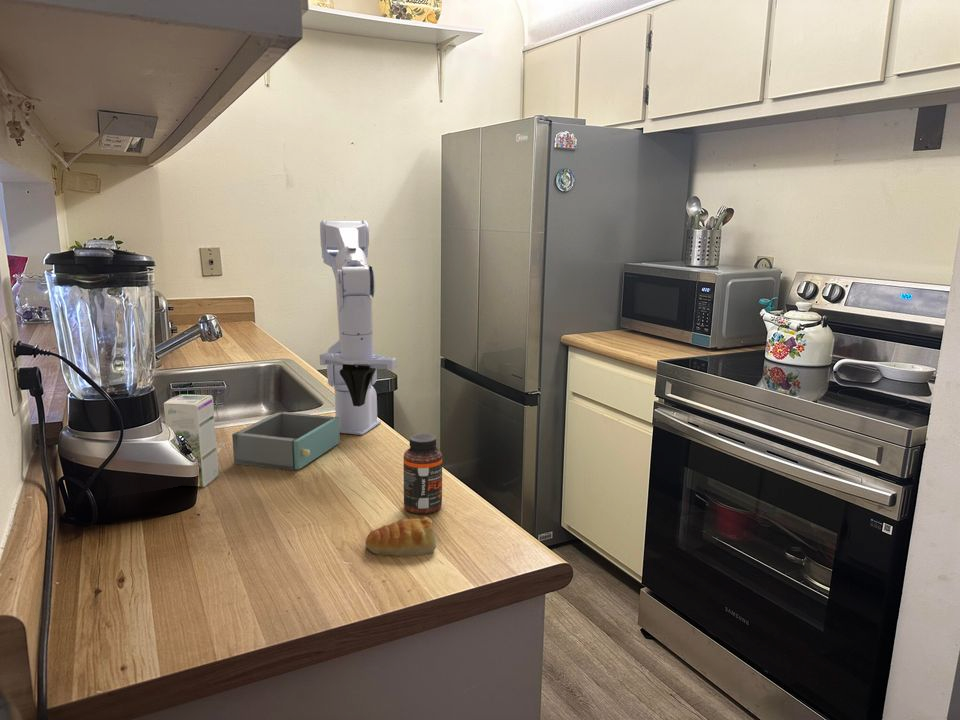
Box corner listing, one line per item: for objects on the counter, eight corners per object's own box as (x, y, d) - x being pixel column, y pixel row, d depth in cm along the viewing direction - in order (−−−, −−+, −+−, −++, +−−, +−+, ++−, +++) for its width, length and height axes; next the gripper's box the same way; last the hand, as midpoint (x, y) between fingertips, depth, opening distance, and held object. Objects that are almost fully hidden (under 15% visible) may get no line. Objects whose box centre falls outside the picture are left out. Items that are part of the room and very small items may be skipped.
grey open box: (280, 437, 136) (279, 411, 135) (334, 443, 133) (333, 416, 131) (234, 463, 122) (232, 434, 121) (293, 471, 119) (291, 441, 117)
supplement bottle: (433, 518, 101) (433, 446, 98) (397, 512, 103) (395, 441, 100) (448, 502, 106) (448, 433, 104) (413, 497, 108) (412, 429, 106)
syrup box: (220, 475, 116) (214, 393, 113) (203, 489, 111) (196, 403, 107) (188, 473, 117) (181, 392, 114) (169, 487, 111) (162, 402, 108)
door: (336, 441, 133) (336, 416, 132) (345, 442, 132) (344, 417, 131) (294, 469, 118) (293, 440, 117) (304, 470, 118) (303, 441, 117)
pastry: (368, 563, 88) (367, 536, 87) (363, 540, 94) (362, 514, 94) (439, 555, 90) (439, 528, 90) (429, 533, 97) (429, 508, 96)
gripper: (309, 333, 121) (313, 407, 124) (384, 338, 117) (386, 414, 120) (329, 327, 128) (331, 397, 131) (400, 332, 124) (401, 403, 127)
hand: (358, 404), depth 126 cm, fingers closed
